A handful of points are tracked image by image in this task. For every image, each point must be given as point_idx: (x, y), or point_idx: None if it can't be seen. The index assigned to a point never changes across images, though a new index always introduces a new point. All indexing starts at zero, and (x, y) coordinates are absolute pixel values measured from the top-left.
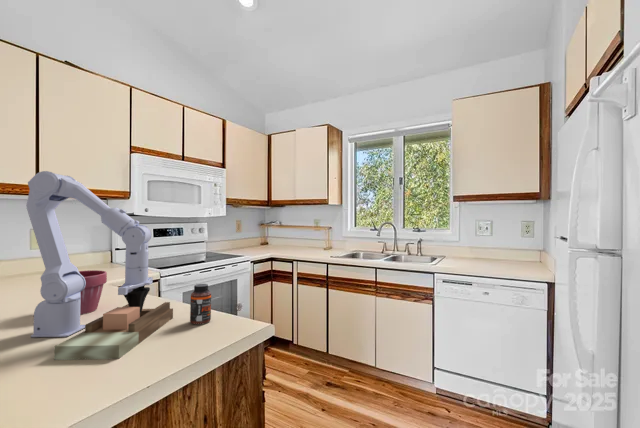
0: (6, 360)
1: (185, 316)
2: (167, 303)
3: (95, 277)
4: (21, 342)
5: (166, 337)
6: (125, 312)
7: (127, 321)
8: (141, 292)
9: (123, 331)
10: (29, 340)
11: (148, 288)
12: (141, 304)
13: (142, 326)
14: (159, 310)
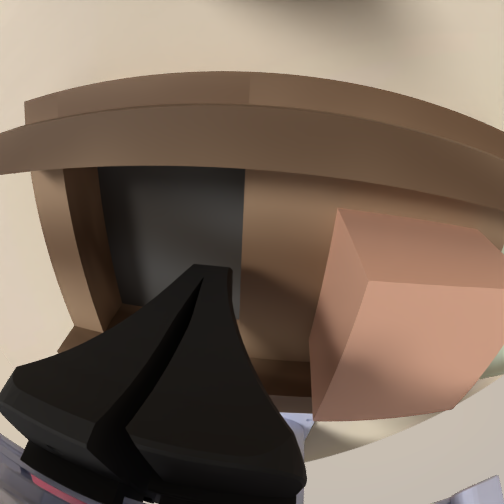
0: (432, 416)
1: (49, 39)
2: (12, 132)
3: (63, 499)
4: (324, 448)
5: (427, 3)
6: (502, 318)
7: (499, 254)
8: (290, 466)
9: (501, 233)
10: (314, 445)
11: (33, 419)
12: (195, 308)
13: (466, 144)
14: (161, 106)
